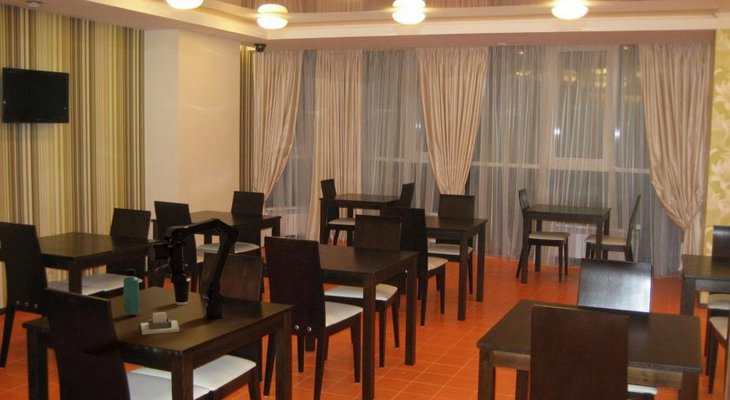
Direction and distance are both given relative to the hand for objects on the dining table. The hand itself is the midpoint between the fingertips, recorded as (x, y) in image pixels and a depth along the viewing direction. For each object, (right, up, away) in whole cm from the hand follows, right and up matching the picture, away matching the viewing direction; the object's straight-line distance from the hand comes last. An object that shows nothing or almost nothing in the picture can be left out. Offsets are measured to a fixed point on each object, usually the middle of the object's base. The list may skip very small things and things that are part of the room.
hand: (177, 295), depth 306 cm
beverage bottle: (-23, -10, +14) cm, 29 cm away
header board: (-5, -12, -7) cm, 15 cm away
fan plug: (-5, -11, -7) cm, 14 cm away
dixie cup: (-7, -8, +36) cm, 37 cm away
